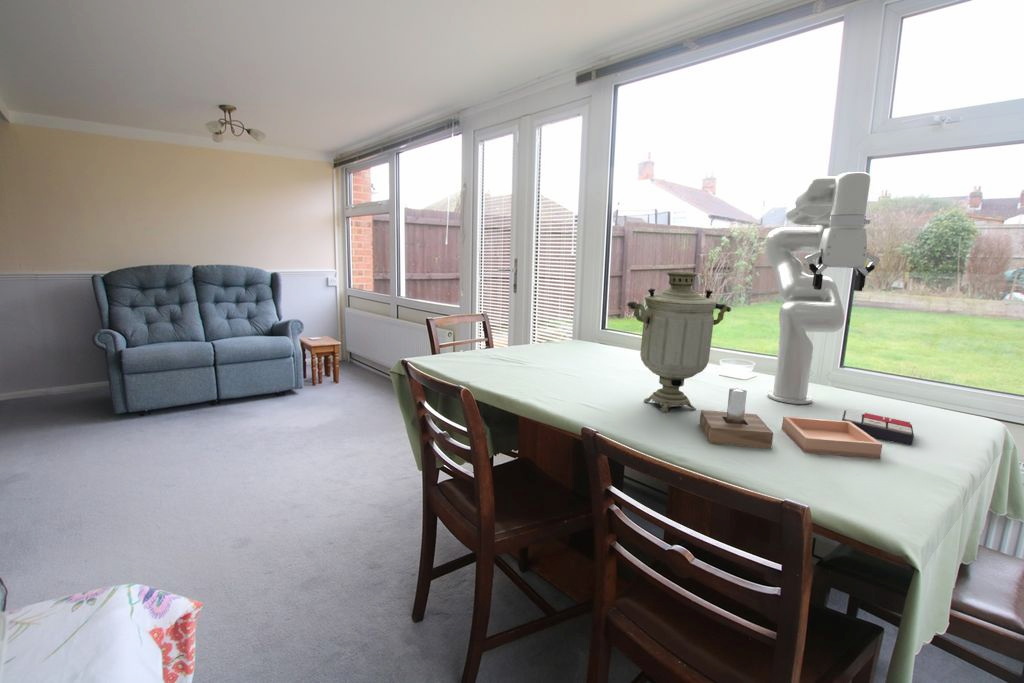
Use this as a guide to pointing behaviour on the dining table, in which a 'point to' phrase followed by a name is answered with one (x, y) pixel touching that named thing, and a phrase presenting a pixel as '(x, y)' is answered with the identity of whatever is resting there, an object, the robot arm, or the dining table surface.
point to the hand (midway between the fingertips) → (837, 290)
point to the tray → (831, 437)
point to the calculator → (881, 427)
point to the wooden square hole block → (735, 430)
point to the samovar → (676, 336)
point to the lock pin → (736, 406)
